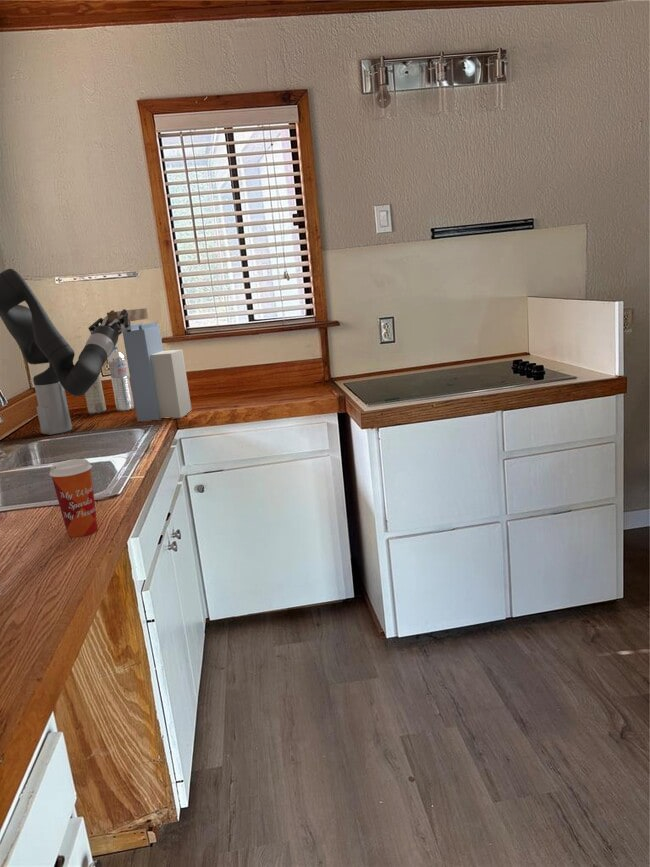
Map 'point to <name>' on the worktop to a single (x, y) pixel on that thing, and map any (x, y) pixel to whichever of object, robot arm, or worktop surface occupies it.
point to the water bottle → (120, 380)
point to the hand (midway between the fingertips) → (119, 312)
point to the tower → (143, 368)
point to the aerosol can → (95, 398)
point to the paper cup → (75, 496)
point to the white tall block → (171, 383)
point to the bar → (129, 315)
